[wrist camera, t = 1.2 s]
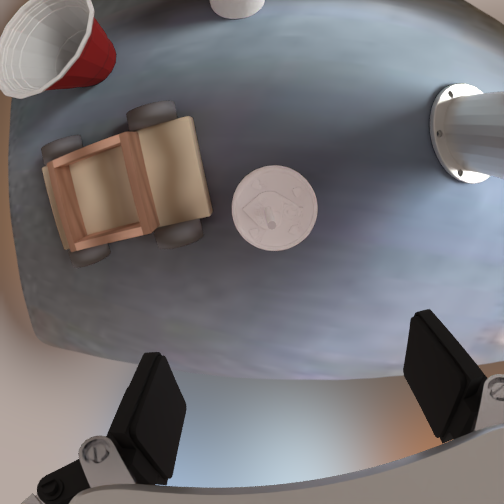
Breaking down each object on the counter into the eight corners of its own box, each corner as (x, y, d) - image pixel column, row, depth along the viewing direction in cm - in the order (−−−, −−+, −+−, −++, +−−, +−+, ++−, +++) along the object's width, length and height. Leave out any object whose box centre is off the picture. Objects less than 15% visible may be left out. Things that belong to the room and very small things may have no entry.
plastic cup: (146, 87, 27) (93, 63, 16) (64, 120, 28) (-5, 119, 16) (134, 8, 23) (88, -38, 12) (56, 44, 24) (-5, 22, 13)
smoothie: (237, 158, 30) (228, 168, 17) (301, 162, 30) (339, 175, 17) (235, 219, 32) (225, 273, 19) (296, 222, 32) (327, 277, 19)
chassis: (189, 101, 28) (177, 93, 23) (216, 227, 32) (210, 243, 27) (50, 151, 29) (23, 155, 24) (78, 256, 33) (56, 274, 28)
